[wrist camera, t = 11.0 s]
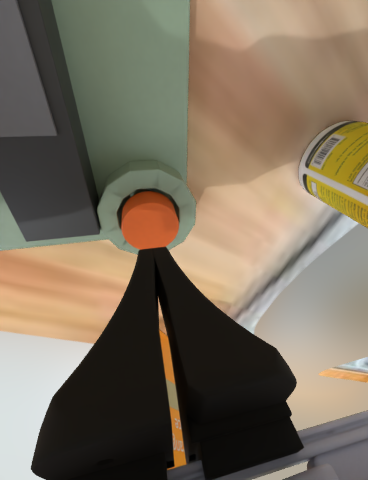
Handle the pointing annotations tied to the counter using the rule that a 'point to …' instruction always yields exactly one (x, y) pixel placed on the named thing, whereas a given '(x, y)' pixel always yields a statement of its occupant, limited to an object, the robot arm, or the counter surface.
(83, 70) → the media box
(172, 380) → the orange juice
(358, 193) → the pill bottle
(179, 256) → the counter surface
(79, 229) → the remote
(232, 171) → the counter surface
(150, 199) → the power button
